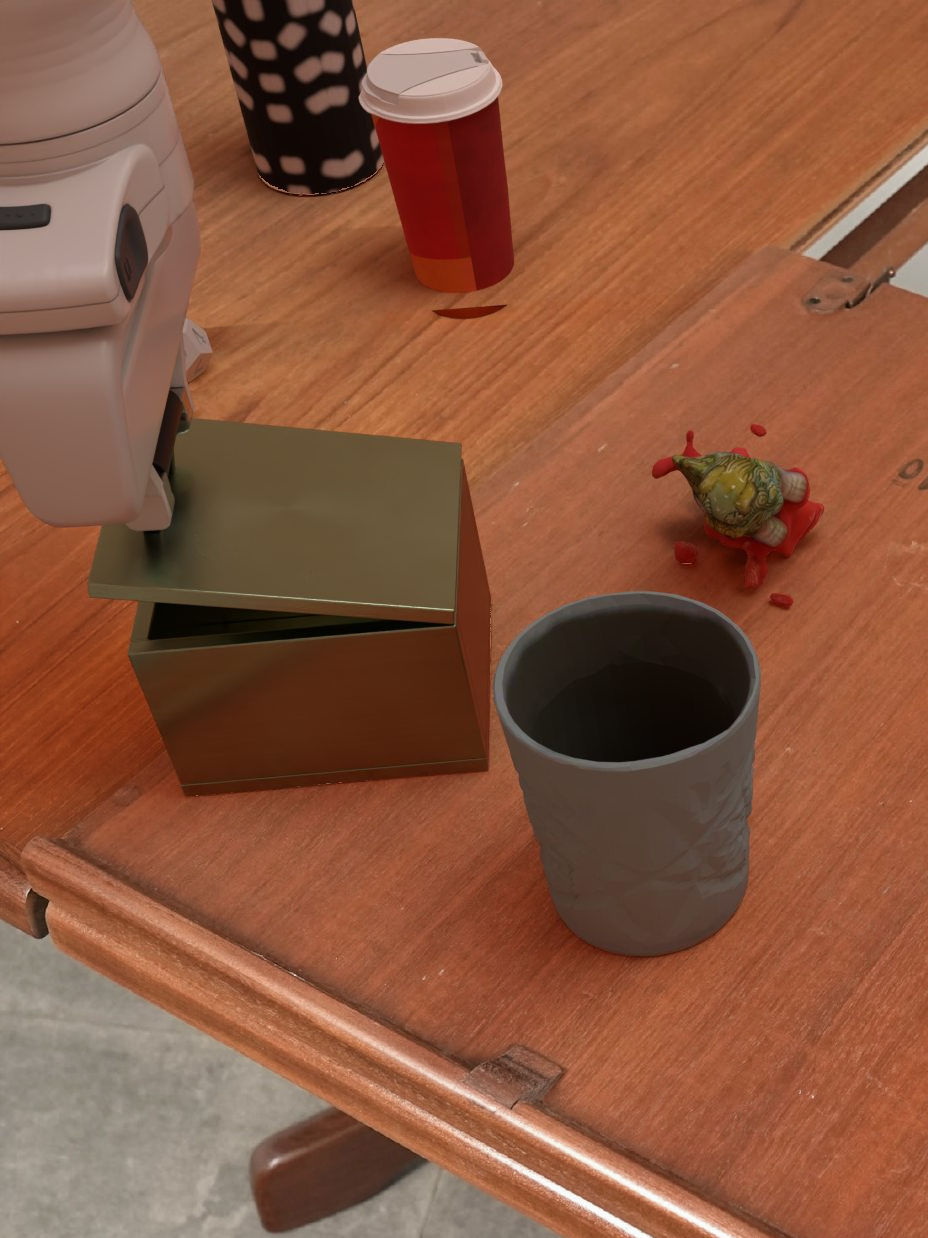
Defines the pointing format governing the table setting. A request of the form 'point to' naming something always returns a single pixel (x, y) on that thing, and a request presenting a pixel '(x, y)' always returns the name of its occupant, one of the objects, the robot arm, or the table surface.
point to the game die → (195, 350)
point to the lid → (294, 524)
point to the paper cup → (445, 162)
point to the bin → (319, 688)
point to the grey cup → (635, 764)
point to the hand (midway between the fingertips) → (163, 471)
